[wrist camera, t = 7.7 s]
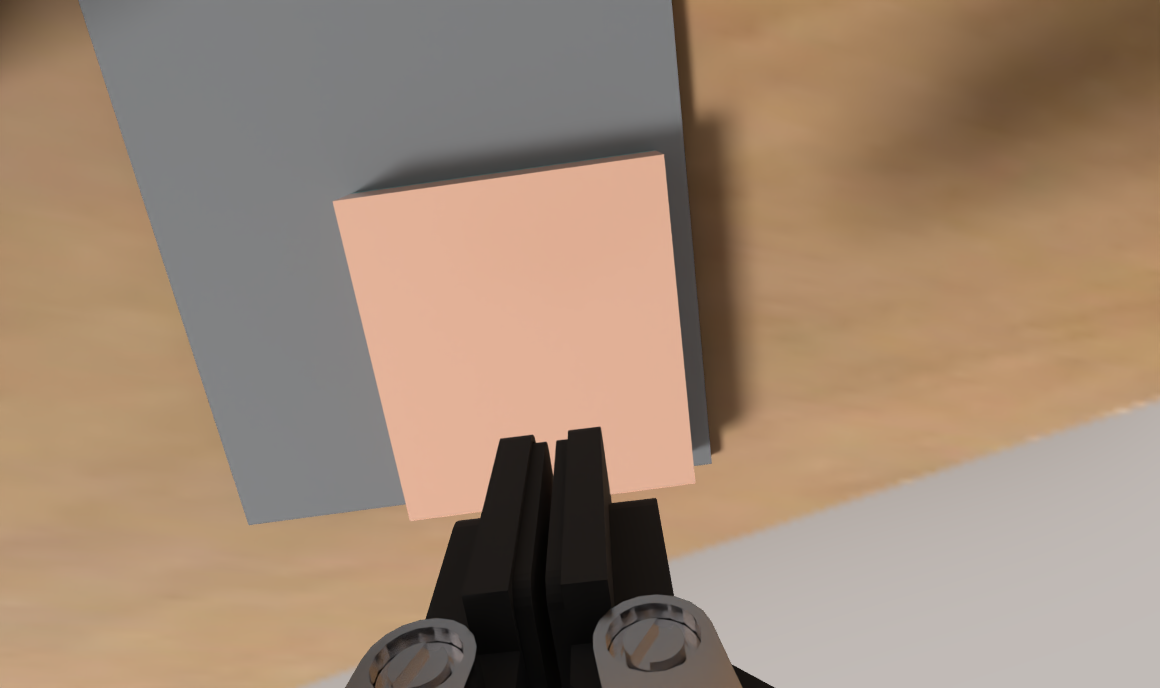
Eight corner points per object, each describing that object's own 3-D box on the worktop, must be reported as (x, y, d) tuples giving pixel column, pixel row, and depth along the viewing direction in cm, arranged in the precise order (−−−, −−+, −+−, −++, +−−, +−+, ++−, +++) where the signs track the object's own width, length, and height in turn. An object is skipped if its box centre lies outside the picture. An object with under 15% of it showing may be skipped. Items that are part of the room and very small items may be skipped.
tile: (353, 192, 21) (654, 150, 21) (421, 489, 24) (684, 453, 24) (332, 201, 19) (663, 154, 19) (409, 521, 22) (695, 483, 22)
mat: (623, -513, 17) (625, -531, 16) (708, 456, 25) (711, 463, 24) (-42, -407, 17) (-59, -421, 17) (254, 517, 25) (248, 525, 25)
